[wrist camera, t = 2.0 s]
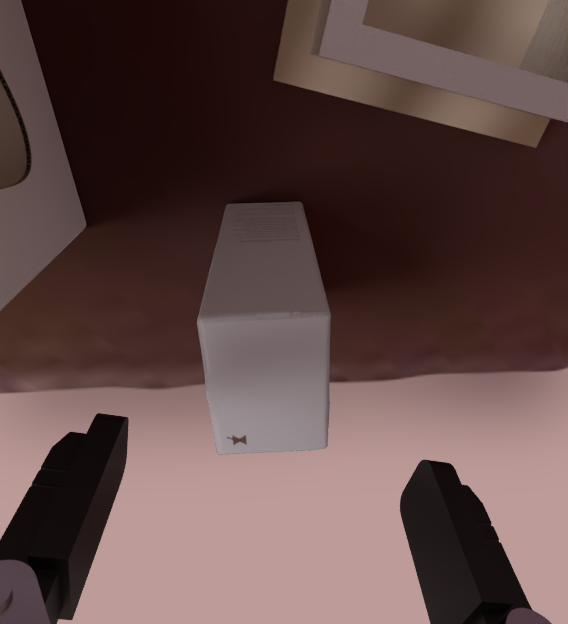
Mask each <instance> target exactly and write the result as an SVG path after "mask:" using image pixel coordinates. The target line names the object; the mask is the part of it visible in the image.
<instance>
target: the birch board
mask: <svg viewBox="0 0 568 624" xmlns="http://www.w3.org/2000/svg"><path fill="white" fill-rule="evenodd" d="M548 2H549V0H368V4H367V8H366V12H365V15H364V19H363V23H362V24H363V25H366V26H370V27H373V28H377V29H380V30H384V31H387V32H391V33H394V34H398V35H401V36H405V37H408V38H412V39H416V40H419V41H423V42H426V43H430V44H433V45H437V46H440V47H444V48H447V49H451V50H454V51H458V52H461V53H465V54H468V55H472V56H475V57H479V58H482V59H486V60H489V61H493V62H496V63H500V64H503V65H507V66H510V67H514V68H517V69H519V67H520V65H521V63H522V60H523V58H524V56H525V54H526V51H527V49H528V47H529V45H530V42H531V40H532V38H533V36H534V33H535V31H536V29H537V27H538V24H539V22H540V20H541V18H542V15H543V13H544V11H545V8H546V6H547V4H548ZM320 4H321V0H288V3H287V8H286V13H285V18H284V24H283V29H282V34H281V39H280V45H279V50H278V55H277V60H276V66H275V71H274V76H273V80H274V81H278V82H282V83H286V84H290V85H294V86H298V87H301V88H305V89H309V90H313V91H317V92H321V93H325V94H329V95H333V96H336V97H340V98H344V99H348V100H352V101H356V102H360V103H364V104H368V105H371V106H375V107H379V108H383V109H387V110H391V111H395V112H399V113H402V114H406V115H410V116H414V117H418V118H422V119H426V120H430V121H434V122H437V123H441V124H445V125H449V126H453V127H457V128H461V129H465V130H468V131H472V132H476V133H480V134H484V135H488V136H492V137H496V138H500V139H503V140H507V141H511V142H515V143H519V144H523V145H527V146H531V147H535V148H536V147H537V145H538V143H539V141H540V139H541V137H542V135H543V133H544V131H545V129H546V127H547V125H548V123H549V121H550V118H546V117H541V116H537V115H533V114H529V113H525V112H521V111H517V110H514V109H510V108H506V107H502V106H499V105H495V104H491V103H488V102H484V101H480V100H476V99H473V98H469V97H465V96H462V95H458V94H454V93H451V92H447V91H443V90H439V89H436V88H432V87H428V86H425V85H421V84H417V83H413V82H410V81H406V80H402V79H399V78H395V77H391V76H387V75H384V74H380V73H376V72H373V71H369V70H365V69H362V68H358V67H354V66H350V65H347V64H343V63H339V62H336V61H332V60H328V59H324V58H321V57H317V56H313V55H310V54H309V53H310V49H311V44H312V40H313V35H314V31H315V27H316V22H317V18H318V13H319V9H320Z"/></svg>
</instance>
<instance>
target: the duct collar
mask: <svg viewBox="0 0 568 624" xmlns="http://www.w3.org/2000/svg"><path fill="white" fill-rule="evenodd" d="M367 4H368V0H321V4H320V9H319V13H318V18H317V22H316V27H315V31H314V35H313V40H312V44H311V49H310V53H309V54H310V55H313V56H317V57H321V58H324V59H328V60H332V61H336V62H339V63H343V64H347V65H350V66H354V67H358V68H362V69H365V70H369V71H373V72H376V73H380V74H384V75H387V76H391V77H395V78H399V79H402V80H406V81H410V82H413V83H417V84H421V85H425V86H428V87H432V88H436V89H439V90H443V91H447V92H451V93H454V94H458V95H462V96H465V97H469V98H473V99H476V100H480V101H484V102H488V103H491V104H495V105H499V106H502V107H506V108H510V109H514V110H517V111H521V112H525V113H529V114H533V115H537V116H541V117H546V118H550V119H554V120H558V121H563V122H567V123H568V0H549V2H548V4H547V6H546V8H545V11H544V13H543V15H542V18H541V20H540V22H539V24H538V27H537V29H536V31H535V33H534V36H533V38H532V40H531V42H530V45H529V47H528V49H527V51H526V54H525V56H524V58H523V60H522V63H521V65H520V67H519V69H517V68H514V67H510V66H507V65H503V64H500V63H496V62H493V61H489V60H486V59H482V58H479V57H475V56H472V55H468V54H465V53H461V52H458V51H454V50H451V49H447V48H444V47H440V46H437V45H433V44H430V43H426V42H423V41H419V40H416V39H412V38H408V37H405V36H401V35H398V34H394V33H391V32H387V31H384V30H380V29H377V28H373V27H370V26H366V25H363V24H362V23H363V19H364V15H365V12H366V8H367Z"/></svg>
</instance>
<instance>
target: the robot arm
mask: <svg viewBox="0 0 568 624" xmlns="http://www.w3.org/2000/svg"><path fill="white" fill-rule="evenodd" d="M127 439H128V418H127V417H122V416H115V415H108V414H100V413H98V414H97V415H96V416H95V418H94V420H93V422H92V424H91V426H90V428H89V430H88V432H87V434H84V433H76V432H69V433H68V434H67V435H66V436H65V437H63V438H62V439H61V440H60V441H59V442H58V443H56V444H55V445H54V446H53V447H52V448H51V450H50V452H49V454H48V456H47V457H46V459H45V461H44V463H43V465H42V466H41V470H40V471H39V472H38V473H37V475H36V477H35V479H34V481H33V482H32V486H31V487H30V488H29V490H28V491H27V493H26V495H25V497H24V499H23V500H22V502H21V504H20V506H19V508H18V509H17V511H16V513H15V515H14V516H13V518H12V520H11V522H10V524H9V525H8V527H7V529H6V531H5V533H4V535H3V536H2V538H1V540H0V624H57V621H58V619H66V620H72V619H73V616H74V613H75V610H76V607H77V605H78V602H79V599H80V596H81V593H82V590H83V588H84V585H85V582H86V579H87V577H88V574H89V571H90V568H91V565H92V562H93V560H94V557H95V554H96V551H97V548H98V545H99V543H100V540H101V537H102V534H103V531H104V528H105V526H106V523H107V520H108V517H109V514H110V511H111V509H112V506H113V503H114V500H115V497H116V494H117V492H118V489H119V486H120V483H121V480H122V477H123V473H124V469H125V464H126V458H127ZM400 512H401V517H402V521H403V525H404V528H405V532H406V535H407V539H408V543H409V547H410V550H411V554H412V557H413V561H414V565H415V568H416V572H417V576H418V579H419V583H420V587H421V590H422V594H423V598H424V601H425V605H426V609H427V612H428V616H429V619H430V623H431V624H551V623H550V622H549V621H548V620H547V619H546V618H545V617H543V616H542V615H540V614H538V613H537V612H535V611H533V610H532V608H531V607H530V605H529V603H528V601H527V599H526V596H525V594H524V592H523V590H522V588H521V585H520V583H519V581H518V579H517V577H516V575H515V573H514V571H513V568H512V566H511V564H510V562H509V560H508V557H507V556H506V553H505V551H504V549H503V547H502V544H501V543H499V541H498V540H499V538H498V536H497V534H496V531H495V529H494V527H493V526H491V521H490V518H489V517H488V514H487V512H486V510H485V508H484V506H483V503H482V502H481V501H480V500H479V498H478V497H477V496H476V495H475V494H474V492H473V491H472V490H471V489H470V488H469V486H467V485H462V484H461V482H460V480H459V477H458V475H457V473H456V470H455V468H454V467H453V466H452V465H451V464H450V463H445V462H438V461H430V460H422V461H421V462H420V463H419V464H418V466H417V468H416V470H415V471H414V473H413V475H412V477H411V479H410V480H409V482H408V484H407V485H406V487H405V489H404V491H403V493H402V496H401V500H400Z"/></svg>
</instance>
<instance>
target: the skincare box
mask: <svg viewBox="0 0 568 624" xmlns="http://www.w3.org/2000/svg"><path fill="white" fill-rule="evenodd" d="M330 318H331V314H330V311H329V306H328V302H327V298H326V294H325V291H324V287H323V283H322V279H321V275H320V270H319V267H318V263H317V259H316V255H315V251H314V247H313V243H312V239H311V235H310V232H309V227H308V224H307V220H306V216H305V212H304V209H303V204H302V203H301V202H298V201H294V202H275V203H239V204H227V205H226V208H225V212H224V216H223V220H222V224H221V228H220V232H219V236H218V240H217V244H216V247H215V251H214V255H213V259H212V263H211V267H210V271H209V275H208V279H207V283H206V287H205V291H204V295H203V300H202V303H201V307H200V312H199V315H198V319H197V326H198V332H199V339H200V345H201V352H202V359H203V366H204V373H205V388H206V396H207V402H208V405H209V409H210V415H211V422H212V428H213V433H214V439H215V445H216V450H217V453H218V454H239V453H260V452H283V451H303V450H316V449H324V448H326V447H327V440H328V424H329V363H330Z"/></svg>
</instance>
